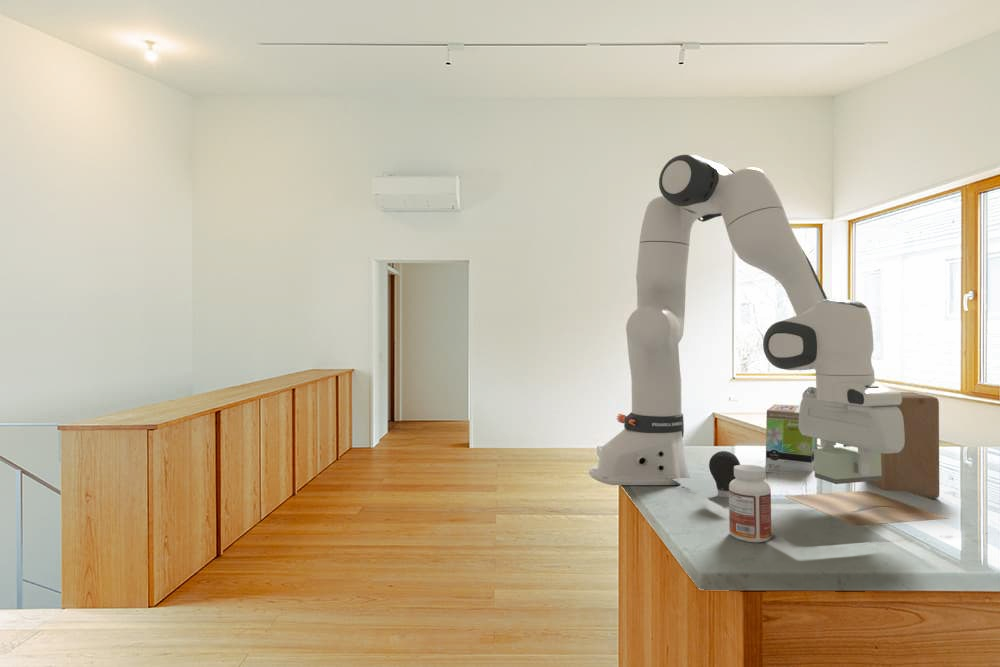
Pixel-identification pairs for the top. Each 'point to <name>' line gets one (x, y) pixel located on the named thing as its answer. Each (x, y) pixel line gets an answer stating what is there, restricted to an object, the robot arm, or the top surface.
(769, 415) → the tea box
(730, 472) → the light bulb
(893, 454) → the wooden block
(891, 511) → the oak board
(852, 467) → the block
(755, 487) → the pill bottle
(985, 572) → the top surface
